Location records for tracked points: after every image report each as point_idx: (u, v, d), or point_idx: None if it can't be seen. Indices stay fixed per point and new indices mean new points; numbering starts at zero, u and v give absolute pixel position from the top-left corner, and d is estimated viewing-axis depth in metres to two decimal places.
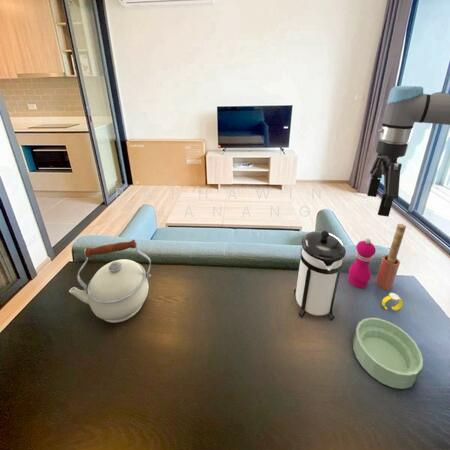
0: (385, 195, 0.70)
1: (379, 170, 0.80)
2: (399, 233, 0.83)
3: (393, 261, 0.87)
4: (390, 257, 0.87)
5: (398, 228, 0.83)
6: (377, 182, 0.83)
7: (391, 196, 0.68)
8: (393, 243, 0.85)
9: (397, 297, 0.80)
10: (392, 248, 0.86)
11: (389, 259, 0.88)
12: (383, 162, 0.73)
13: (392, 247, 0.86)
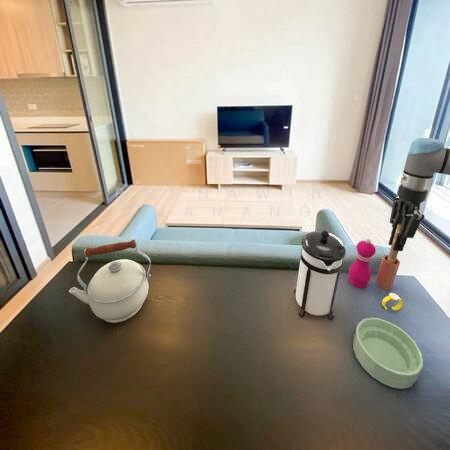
0: (401, 235, 0.81)
1: (400, 216, 0.83)
2: None
3: (393, 261, 0.87)
4: (390, 257, 0.87)
5: (398, 228, 0.83)
6: None
7: (408, 236, 0.79)
8: (393, 243, 0.85)
9: (397, 297, 0.80)
10: (392, 248, 0.86)
11: (389, 259, 0.88)
12: (406, 206, 0.79)
13: (392, 247, 0.86)
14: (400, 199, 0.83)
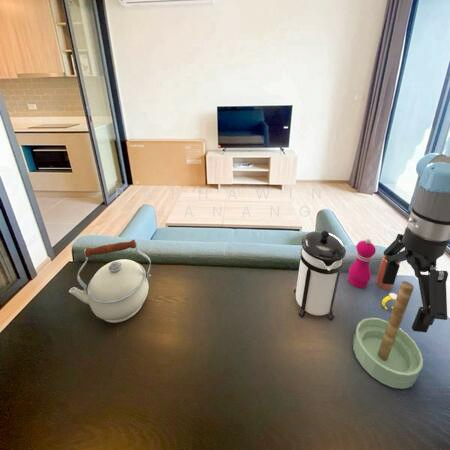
0: (426, 312, 0.51)
1: (401, 259, 0.61)
2: (404, 295, 0.59)
3: (395, 330, 0.63)
4: (391, 325, 0.63)
5: (403, 288, 0.59)
6: (395, 268, 0.65)
7: (438, 318, 0.49)
8: (395, 307, 0.61)
9: None
10: (394, 313, 0.62)
11: (390, 327, 0.63)
12: (415, 260, 0.54)
13: (394, 312, 0.62)
14: (406, 247, 0.58)
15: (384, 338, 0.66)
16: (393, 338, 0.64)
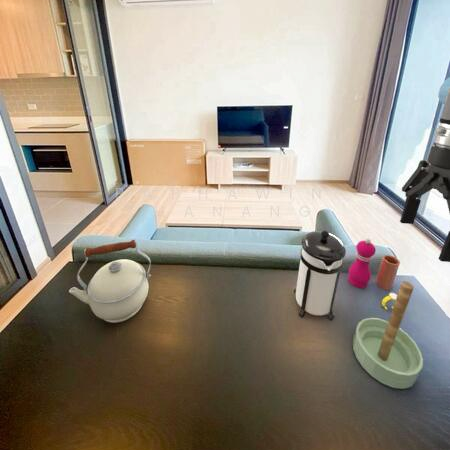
0: None
1: (424, 188, 0.54)
2: (404, 295, 0.59)
3: (395, 330, 0.63)
4: (391, 325, 0.63)
5: (403, 288, 0.59)
6: (416, 203, 0.58)
7: None
8: (395, 307, 0.61)
9: None
10: (394, 313, 0.62)
11: (390, 327, 0.63)
12: (444, 179, 0.47)
13: (394, 312, 0.62)
14: (431, 171, 0.52)
15: (384, 338, 0.66)
16: (393, 338, 0.64)
